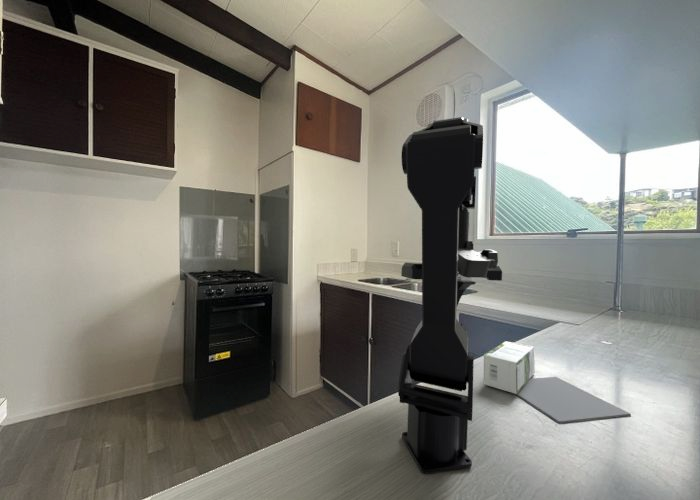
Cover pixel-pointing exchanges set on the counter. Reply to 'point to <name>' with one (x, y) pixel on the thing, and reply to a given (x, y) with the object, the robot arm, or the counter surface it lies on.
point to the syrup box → (509, 366)
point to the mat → (566, 401)
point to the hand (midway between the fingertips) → (449, 315)
